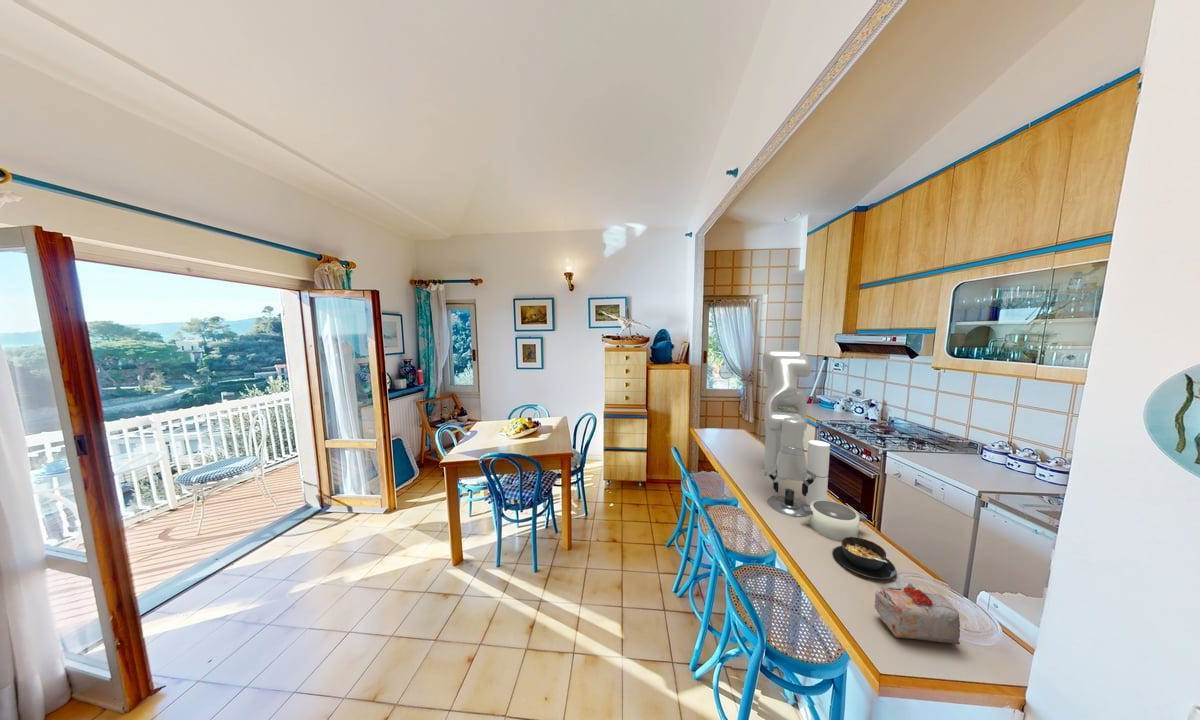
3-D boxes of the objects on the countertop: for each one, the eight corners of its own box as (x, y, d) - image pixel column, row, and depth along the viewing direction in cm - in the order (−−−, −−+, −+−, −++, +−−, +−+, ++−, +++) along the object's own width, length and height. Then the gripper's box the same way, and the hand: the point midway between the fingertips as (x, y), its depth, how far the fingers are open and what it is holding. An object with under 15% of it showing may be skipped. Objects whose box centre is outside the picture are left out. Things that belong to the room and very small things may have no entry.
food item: (893, 642, 74) (897, 601, 73) (870, 612, 82) (873, 574, 81) (964, 650, 72) (968, 608, 71) (933, 619, 80) (936, 581, 79)
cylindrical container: (825, 510, 128) (829, 447, 126) (804, 504, 133) (807, 443, 130) (826, 502, 134) (830, 442, 132) (806, 497, 138) (809, 439, 136)
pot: (797, 514, 125) (798, 496, 125) (854, 522, 120) (856, 503, 120) (809, 536, 112) (810, 516, 111) (874, 546, 107) (875, 525, 106)
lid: (764, 496, 140) (764, 479, 140) (804, 501, 136) (805, 484, 135) (771, 515, 126) (772, 497, 125) (817, 521, 121) (818, 502, 121)
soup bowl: (889, 558, 102) (891, 535, 101) (902, 594, 88) (905, 567, 87) (830, 542, 109) (831, 521, 109) (834, 572, 96) (835, 548, 95)
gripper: (814, 449, 130) (812, 491, 131) (765, 444, 134) (763, 486, 136) (820, 455, 122) (818, 500, 123) (769, 450, 127) (767, 494, 128)
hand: (790, 492), depth 129 cm, fingers open, 9 cm apart
